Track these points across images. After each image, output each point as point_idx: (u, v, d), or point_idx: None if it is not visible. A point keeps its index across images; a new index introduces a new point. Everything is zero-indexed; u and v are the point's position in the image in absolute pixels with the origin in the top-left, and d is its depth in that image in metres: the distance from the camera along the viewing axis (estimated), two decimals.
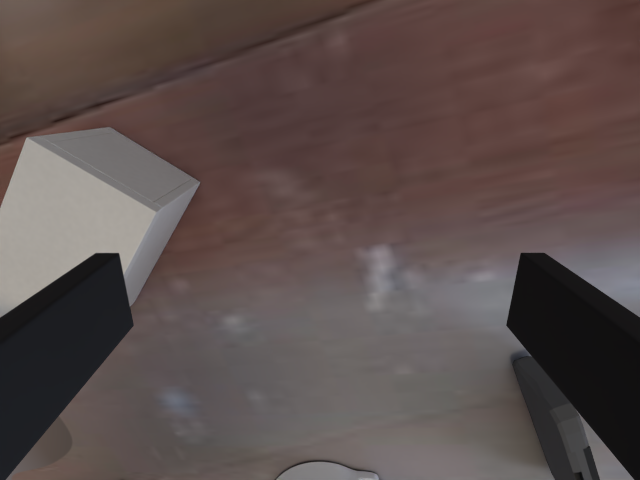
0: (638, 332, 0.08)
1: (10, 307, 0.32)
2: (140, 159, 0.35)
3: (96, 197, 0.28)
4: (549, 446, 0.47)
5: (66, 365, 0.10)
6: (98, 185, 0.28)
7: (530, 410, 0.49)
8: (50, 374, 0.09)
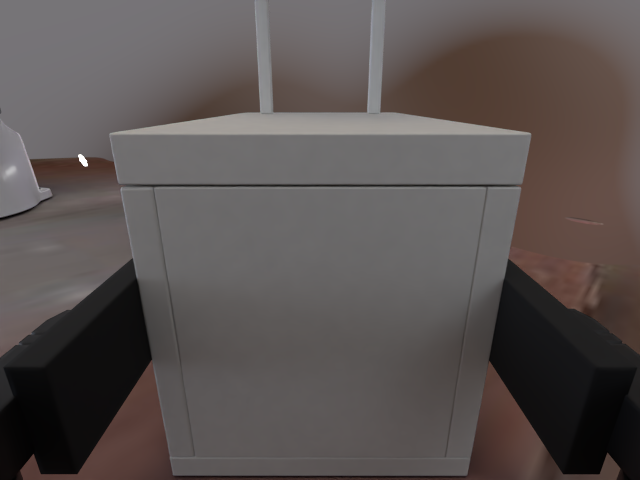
0: (546, 308, 0.09)
1: None
2: (323, 397, 0.12)
3: (290, 128, 0.10)
4: None
5: (138, 342, 0.10)
6: (297, 132, 0.09)
7: None
8: (128, 348, 0.10)
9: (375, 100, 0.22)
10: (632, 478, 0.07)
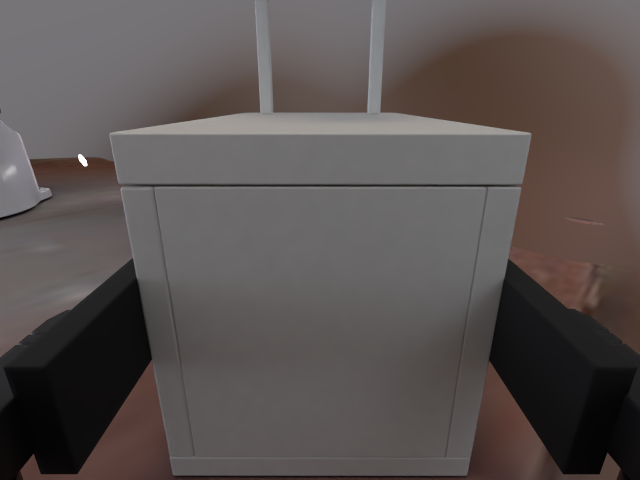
0: (546, 308, 0.09)
1: None
2: (323, 397, 0.12)
3: (290, 128, 0.10)
4: None
5: (138, 342, 0.10)
6: (298, 131, 0.09)
7: None
8: (128, 348, 0.10)
9: (375, 100, 0.22)
10: (632, 478, 0.07)
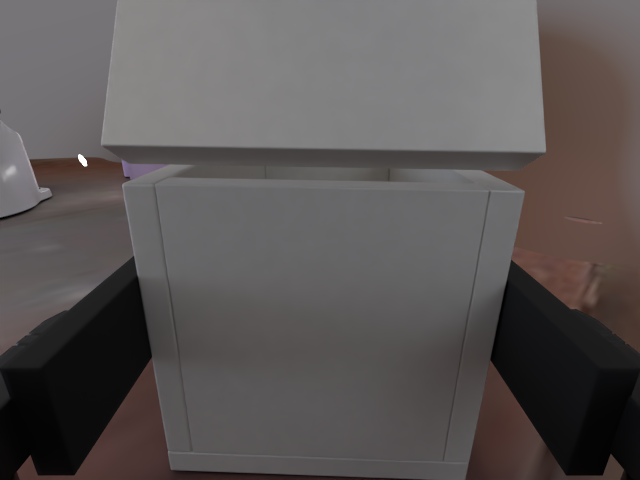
0: (549, 308, 0.09)
1: None
2: (321, 397, 0.12)
3: (286, 89, 0.09)
4: None
5: (136, 342, 0.10)
6: (296, 129, 0.09)
7: None
8: (126, 349, 0.10)
9: None
10: (636, 479, 0.07)
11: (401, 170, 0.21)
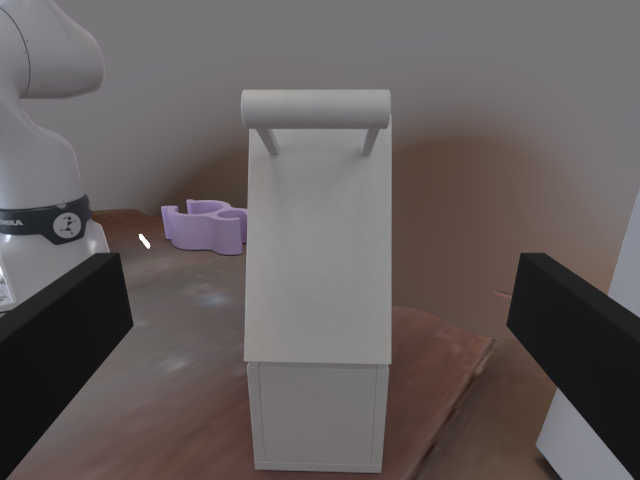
0: (638, 332, 0.08)
1: (343, 156, 0.27)
2: (319, 439, 0.29)
3: (305, 341, 0.26)
4: None
5: (66, 365, 0.10)
6: (309, 355, 0.26)
7: None
8: (50, 374, 0.09)
9: (367, 151, 0.26)
10: None
11: None
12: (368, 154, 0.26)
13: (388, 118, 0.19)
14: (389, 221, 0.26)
